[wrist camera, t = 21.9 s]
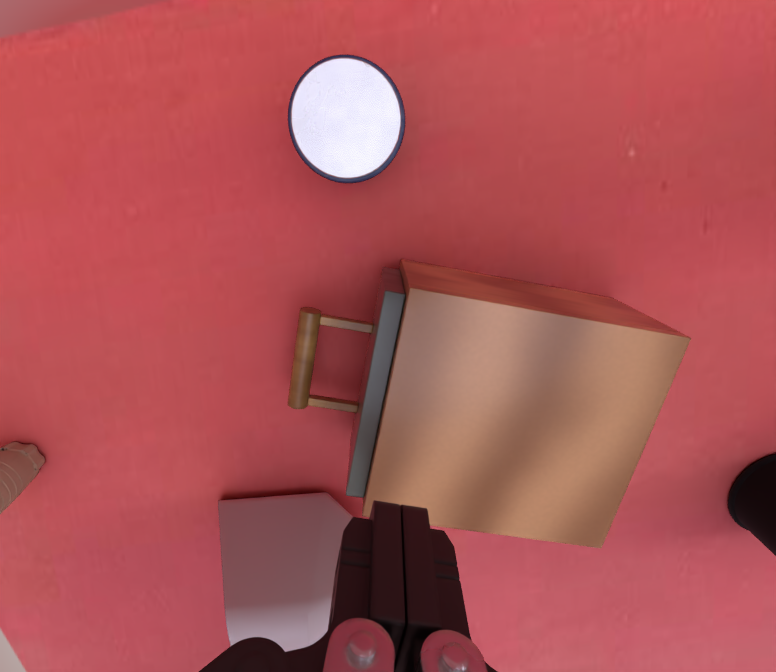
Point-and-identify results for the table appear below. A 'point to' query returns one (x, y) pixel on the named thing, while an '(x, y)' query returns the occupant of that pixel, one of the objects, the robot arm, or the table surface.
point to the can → (346, 118)
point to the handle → (17, 470)
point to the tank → (280, 566)
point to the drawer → (372, 378)
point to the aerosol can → (756, 501)
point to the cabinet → (517, 405)
